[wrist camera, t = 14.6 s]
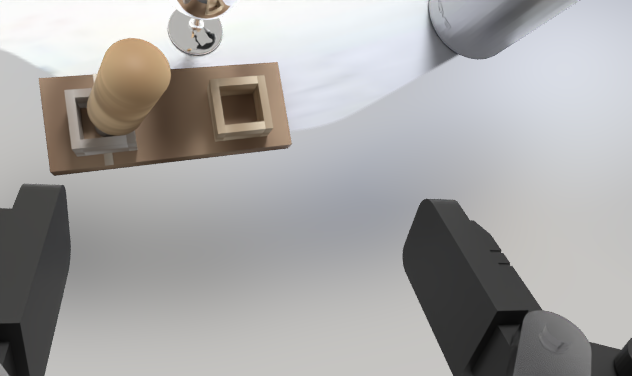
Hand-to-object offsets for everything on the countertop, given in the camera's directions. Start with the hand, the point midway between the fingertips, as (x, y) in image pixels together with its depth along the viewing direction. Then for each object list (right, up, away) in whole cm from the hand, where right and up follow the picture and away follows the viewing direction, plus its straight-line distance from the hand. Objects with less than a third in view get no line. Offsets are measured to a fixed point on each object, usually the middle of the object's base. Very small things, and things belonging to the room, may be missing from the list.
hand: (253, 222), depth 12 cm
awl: (-14, +5, +27) cm, 31 cm away
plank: (-10, +6, +30) cm, 33 cm away
